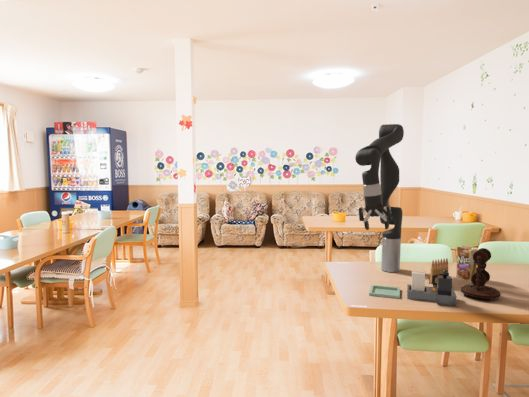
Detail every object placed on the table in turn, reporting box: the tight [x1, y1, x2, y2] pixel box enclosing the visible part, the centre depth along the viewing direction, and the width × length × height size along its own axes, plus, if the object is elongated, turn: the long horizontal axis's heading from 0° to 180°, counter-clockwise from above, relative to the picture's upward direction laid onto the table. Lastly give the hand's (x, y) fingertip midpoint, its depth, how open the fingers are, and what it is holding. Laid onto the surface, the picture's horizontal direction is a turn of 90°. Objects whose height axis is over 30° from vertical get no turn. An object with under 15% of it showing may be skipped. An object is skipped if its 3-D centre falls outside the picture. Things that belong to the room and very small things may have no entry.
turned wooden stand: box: [460, 247, 501, 302], centre depth 168 cm, size 15×15×20 cm
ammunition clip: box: [428, 257, 450, 287], centre depth 184 cm, size 11×2×12 cm, turn 115°
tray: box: [368, 284, 401, 300], centre depth 170 cm, size 12×12×2 cm
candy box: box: [455, 245, 479, 283], centre depth 193 cm, size 9×4×15 cm, turn 17°
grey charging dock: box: [406, 269, 458, 307], centre depth 163 cm, size 10×18×13 cm, turn 71°
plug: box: [410, 270, 426, 291], centre depth 165 cm, size 4×5×10 cm
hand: (377, 229), depth 179 cm, fingers open, 8 cm apart
